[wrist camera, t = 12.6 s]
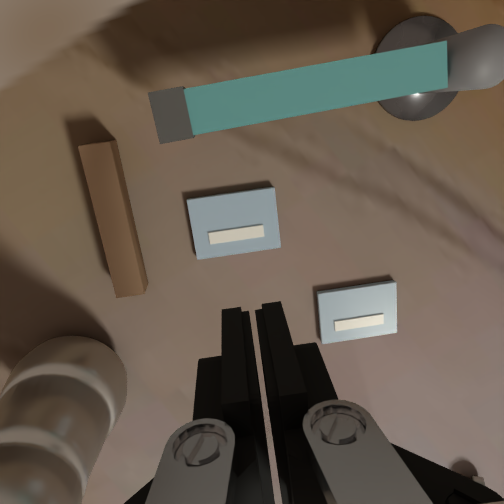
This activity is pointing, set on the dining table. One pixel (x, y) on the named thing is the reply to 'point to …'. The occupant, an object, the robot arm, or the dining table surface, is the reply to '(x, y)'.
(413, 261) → the dining table surface
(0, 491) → the plastic bottle
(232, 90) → the boom bar
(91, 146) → the sill
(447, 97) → the pivot plate
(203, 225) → the label cards
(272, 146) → the dining table surface
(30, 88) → the dining table surface
